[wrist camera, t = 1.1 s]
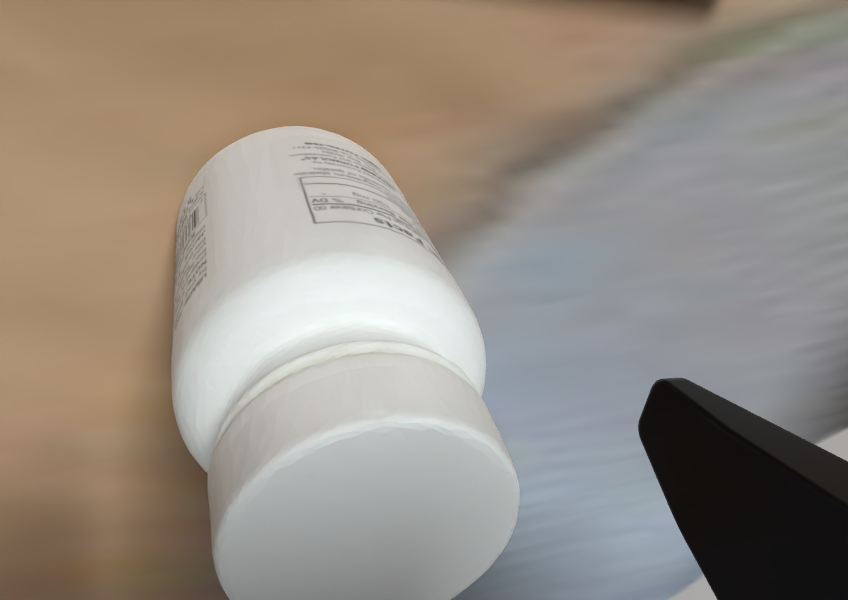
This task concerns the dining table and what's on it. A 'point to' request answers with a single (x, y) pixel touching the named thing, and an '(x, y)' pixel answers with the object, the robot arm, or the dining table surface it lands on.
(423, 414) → the pill bottle
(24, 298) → the dining table surface
